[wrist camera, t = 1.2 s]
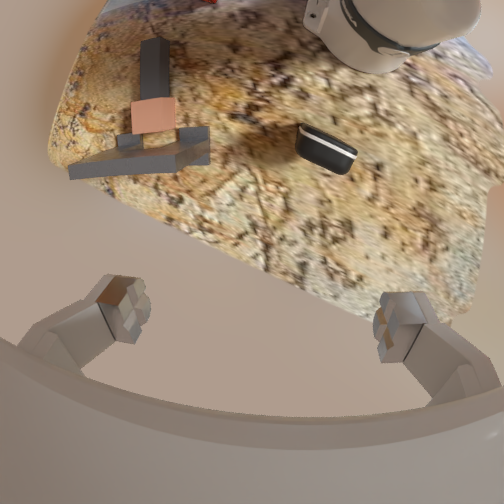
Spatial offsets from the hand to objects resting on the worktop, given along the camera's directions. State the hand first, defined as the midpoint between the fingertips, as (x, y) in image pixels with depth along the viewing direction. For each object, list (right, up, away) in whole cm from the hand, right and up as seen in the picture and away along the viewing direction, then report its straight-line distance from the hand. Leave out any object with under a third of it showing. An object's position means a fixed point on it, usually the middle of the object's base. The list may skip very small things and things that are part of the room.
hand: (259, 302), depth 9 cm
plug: (-15, +27, +26) cm, 40 cm away
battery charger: (+9, +18, +29) cm, 35 cm away
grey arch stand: (-15, +18, +31) cm, 39 cm away
